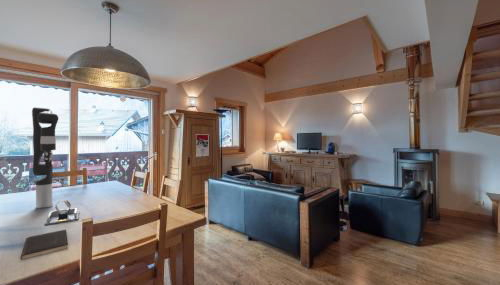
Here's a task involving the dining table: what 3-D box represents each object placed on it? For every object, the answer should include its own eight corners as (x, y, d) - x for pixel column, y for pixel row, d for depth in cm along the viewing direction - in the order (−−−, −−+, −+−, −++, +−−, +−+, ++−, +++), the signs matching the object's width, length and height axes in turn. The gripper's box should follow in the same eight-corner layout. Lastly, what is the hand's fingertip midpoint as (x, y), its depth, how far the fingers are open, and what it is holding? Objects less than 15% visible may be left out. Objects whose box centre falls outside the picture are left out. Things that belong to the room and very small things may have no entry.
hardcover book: (66, 233, 125) (66, 229, 125) (68, 248, 108) (67, 244, 108) (25, 242, 114) (25, 237, 114) (20, 260, 97) (20, 255, 97)
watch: (71, 217, 146) (70, 200, 146) (54, 219, 141) (54, 202, 141) (71, 214, 150) (71, 198, 150) (56, 216, 146) (55, 200, 145)
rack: (49, 216, 149) (48, 210, 148) (79, 212, 158) (79, 206, 158) (44, 225, 134) (44, 219, 134) (78, 220, 143) (78, 213, 143)
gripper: (42, 142, 152) (42, 166, 152) (38, 143, 140) (38, 169, 141) (56, 142, 156) (57, 165, 157) (54, 143, 145) (54, 168, 145)
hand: (48, 167), depth 149 cm, fingers open, 8 cm apart
